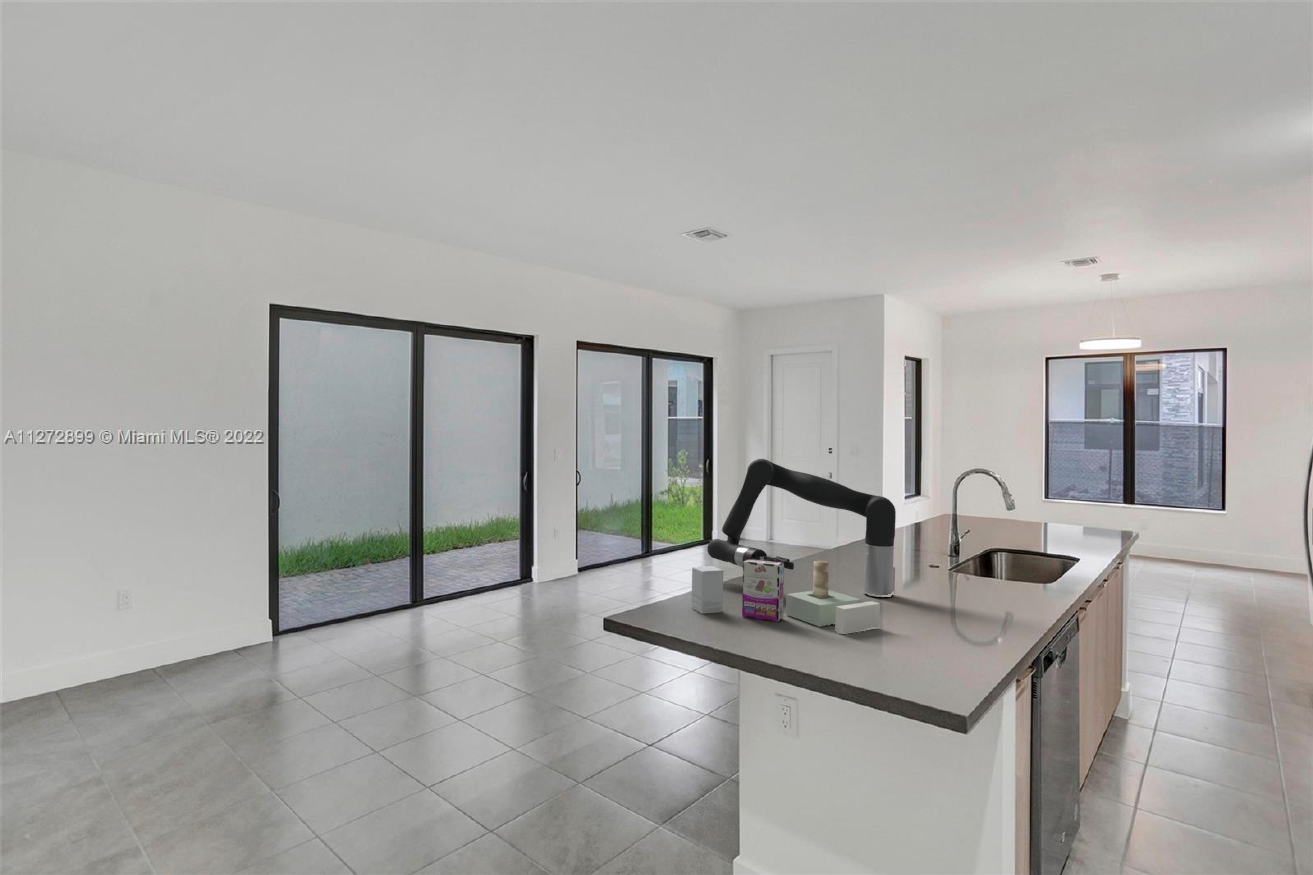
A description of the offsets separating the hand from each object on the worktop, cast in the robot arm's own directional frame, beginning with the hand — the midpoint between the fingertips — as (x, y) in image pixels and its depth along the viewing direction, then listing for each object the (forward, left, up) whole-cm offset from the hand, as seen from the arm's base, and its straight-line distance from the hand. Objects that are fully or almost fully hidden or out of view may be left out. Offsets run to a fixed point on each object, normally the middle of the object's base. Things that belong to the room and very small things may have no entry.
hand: (782, 567), depth 213 cm
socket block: (0, +18, -11) cm, 21 cm away
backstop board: (0, +31, -12) cm, 33 cm away
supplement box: (+26, -4, -12) cm, 29 cm away
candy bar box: (+16, +10, -12) cm, 22 cm away
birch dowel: (0, +17, -9) cm, 19 cm away
